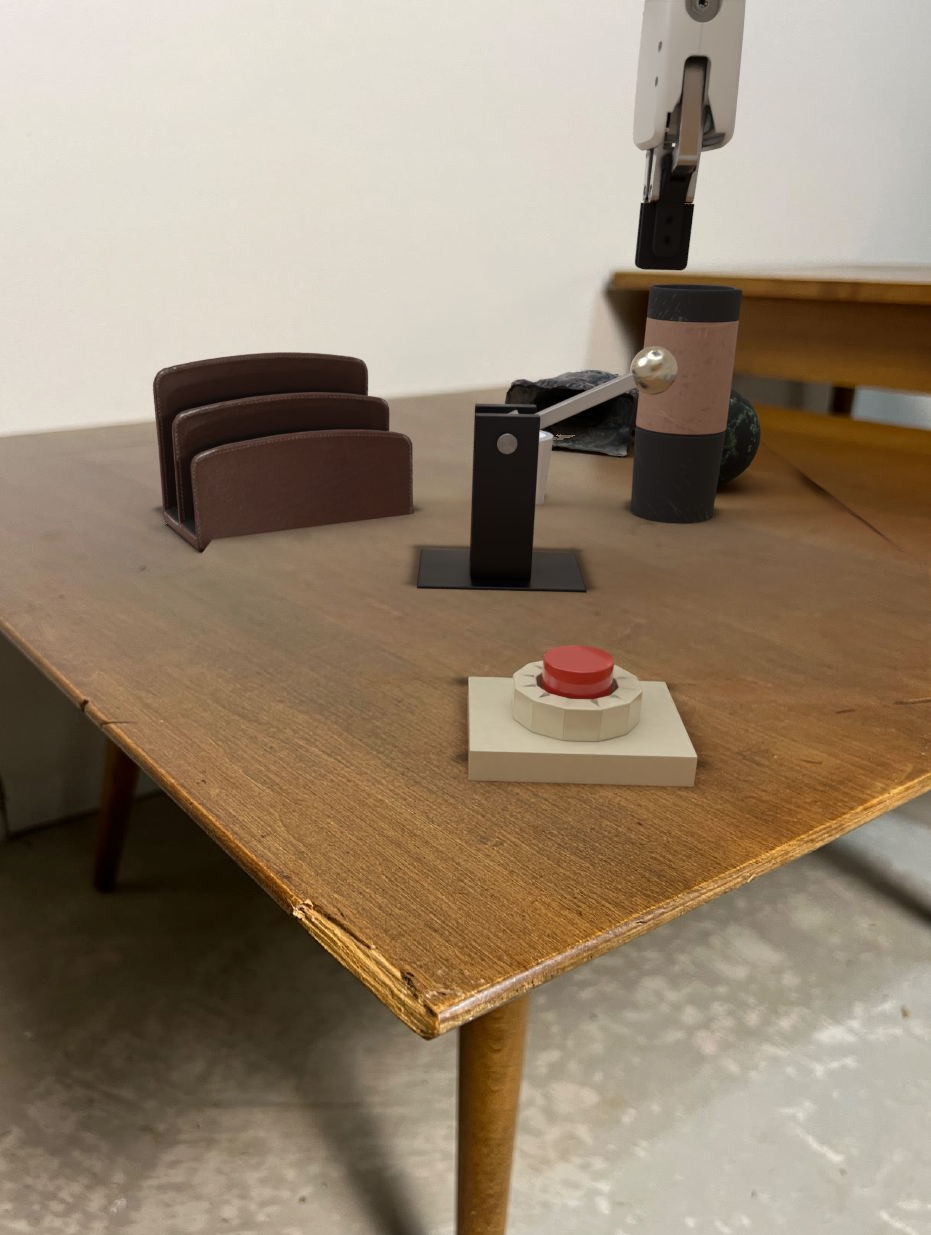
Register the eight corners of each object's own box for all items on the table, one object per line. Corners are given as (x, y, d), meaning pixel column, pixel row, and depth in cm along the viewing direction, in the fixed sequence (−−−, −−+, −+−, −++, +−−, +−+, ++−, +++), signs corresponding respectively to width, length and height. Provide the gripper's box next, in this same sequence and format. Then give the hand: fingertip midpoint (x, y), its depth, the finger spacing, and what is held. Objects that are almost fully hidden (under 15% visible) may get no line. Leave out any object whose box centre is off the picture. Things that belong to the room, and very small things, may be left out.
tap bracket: (573, 566, 84) (585, 400, 79) (585, 605, 76) (600, 423, 71) (420, 563, 84) (423, 397, 79) (416, 601, 76) (419, 419, 71)
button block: (662, 708, 60) (668, 651, 59) (693, 787, 52) (702, 723, 51) (467, 703, 61) (469, 646, 59) (468, 781, 52) (470, 716, 51)
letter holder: (162, 523, 94) (148, 357, 88) (365, 499, 103) (364, 346, 97) (197, 553, 86) (184, 372, 80) (414, 524, 95) (416, 359, 89)
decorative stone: (712, 471, 116) (724, 376, 112) (774, 492, 107) (789, 390, 103) (633, 478, 112) (643, 380, 108) (691, 501, 104) (703, 395, 100)
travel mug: (609, 521, 97) (629, 285, 88) (662, 508, 101) (686, 282, 93) (678, 540, 91) (706, 291, 83) (731, 525, 96) (763, 287, 88)
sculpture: (495, 441, 127) (573, 415, 152) (625, 464, 121) (684, 433, 146) (503, 373, 124) (581, 358, 149) (637, 393, 118) (695, 374, 143)
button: (606, 676, 57) (609, 645, 56) (616, 704, 53) (619, 672, 53) (538, 674, 57) (541, 643, 56) (543, 703, 54) (546, 670, 53)
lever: (679, 379, 75) (664, 335, 74) (688, 386, 72) (672, 341, 71) (495, 459, 78) (478, 418, 77) (496, 469, 75) (478, 427, 74)
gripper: (795, -93, 56) (744, 277, 64) (730, -36, 70) (694, 265, 78) (653, -96, 57) (618, 274, 64) (616, -38, 70) (590, 262, 78)
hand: (660, 268), depth 71 cm, fingers closed
